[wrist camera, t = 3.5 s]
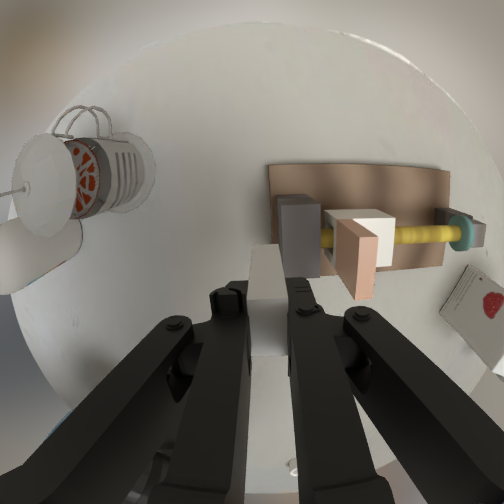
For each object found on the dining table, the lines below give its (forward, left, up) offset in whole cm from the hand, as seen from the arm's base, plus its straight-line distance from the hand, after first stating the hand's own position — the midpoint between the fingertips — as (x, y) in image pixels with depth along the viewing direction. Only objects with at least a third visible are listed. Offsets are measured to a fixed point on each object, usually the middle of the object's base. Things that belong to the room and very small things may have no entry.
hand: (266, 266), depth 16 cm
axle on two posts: (+12, 0, -14) cm, 18 cm away
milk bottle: (-27, +1, -14) cm, 31 cm away
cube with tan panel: (+8, 0, -8) cm, 11 cm away
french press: (-16, +8, -14) cm, 23 cm away
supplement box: (+32, -13, -14) cm, 37 cm away
